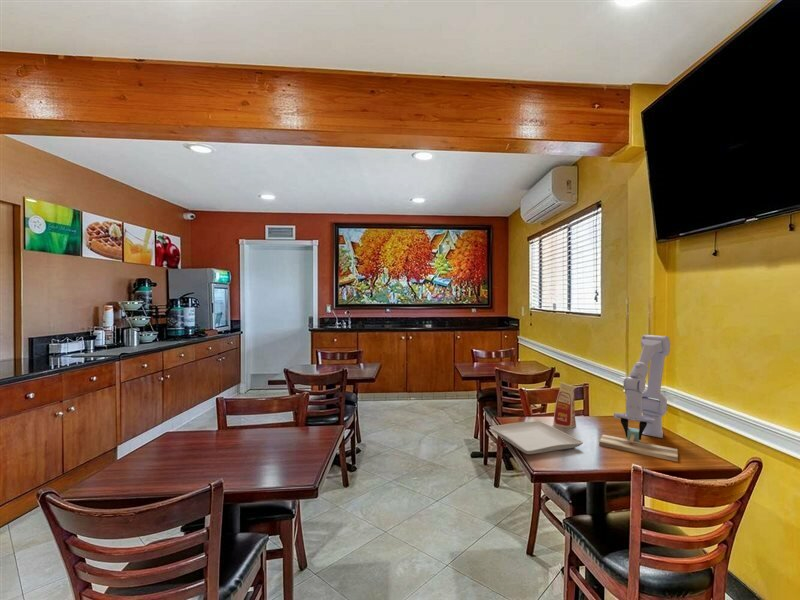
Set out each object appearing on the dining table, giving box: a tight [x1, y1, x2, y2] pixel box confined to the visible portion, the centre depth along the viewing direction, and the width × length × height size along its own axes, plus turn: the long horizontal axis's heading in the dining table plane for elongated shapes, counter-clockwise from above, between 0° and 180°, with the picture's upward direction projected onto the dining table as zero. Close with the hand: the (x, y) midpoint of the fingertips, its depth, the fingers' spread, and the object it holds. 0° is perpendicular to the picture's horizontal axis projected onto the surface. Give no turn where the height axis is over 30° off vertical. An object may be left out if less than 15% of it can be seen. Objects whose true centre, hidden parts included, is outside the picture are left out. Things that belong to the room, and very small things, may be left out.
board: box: [598, 434, 679, 463], centre depth 152 cm, size 10×26×2 cm, turn 54°
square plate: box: [489, 420, 584, 455], centre depth 159 cm, size 27×27×4 cm
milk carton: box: [552, 381, 577, 429], centre depth 181 cm, size 9×9×20 cm
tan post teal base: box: [626, 426, 640, 444], centre depth 157 cm, size 12×4×5 cm, turn 144°
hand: (633, 437), depth 160 cm, fingers closed on tan post teal base, 4 cm apart
